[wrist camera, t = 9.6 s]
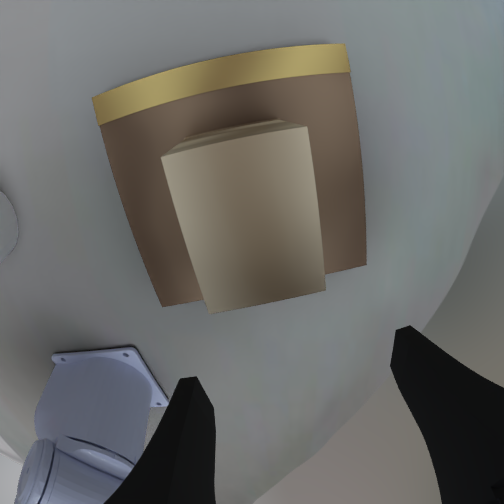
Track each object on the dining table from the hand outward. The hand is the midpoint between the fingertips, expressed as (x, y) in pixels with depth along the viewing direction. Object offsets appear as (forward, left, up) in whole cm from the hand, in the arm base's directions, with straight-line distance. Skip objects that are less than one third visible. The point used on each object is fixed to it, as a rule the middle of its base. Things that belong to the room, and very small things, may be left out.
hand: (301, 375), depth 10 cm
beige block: (-1, +5, -8) cm, 10 cm away
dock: (-1, +5, -10) cm, 11 cm away
